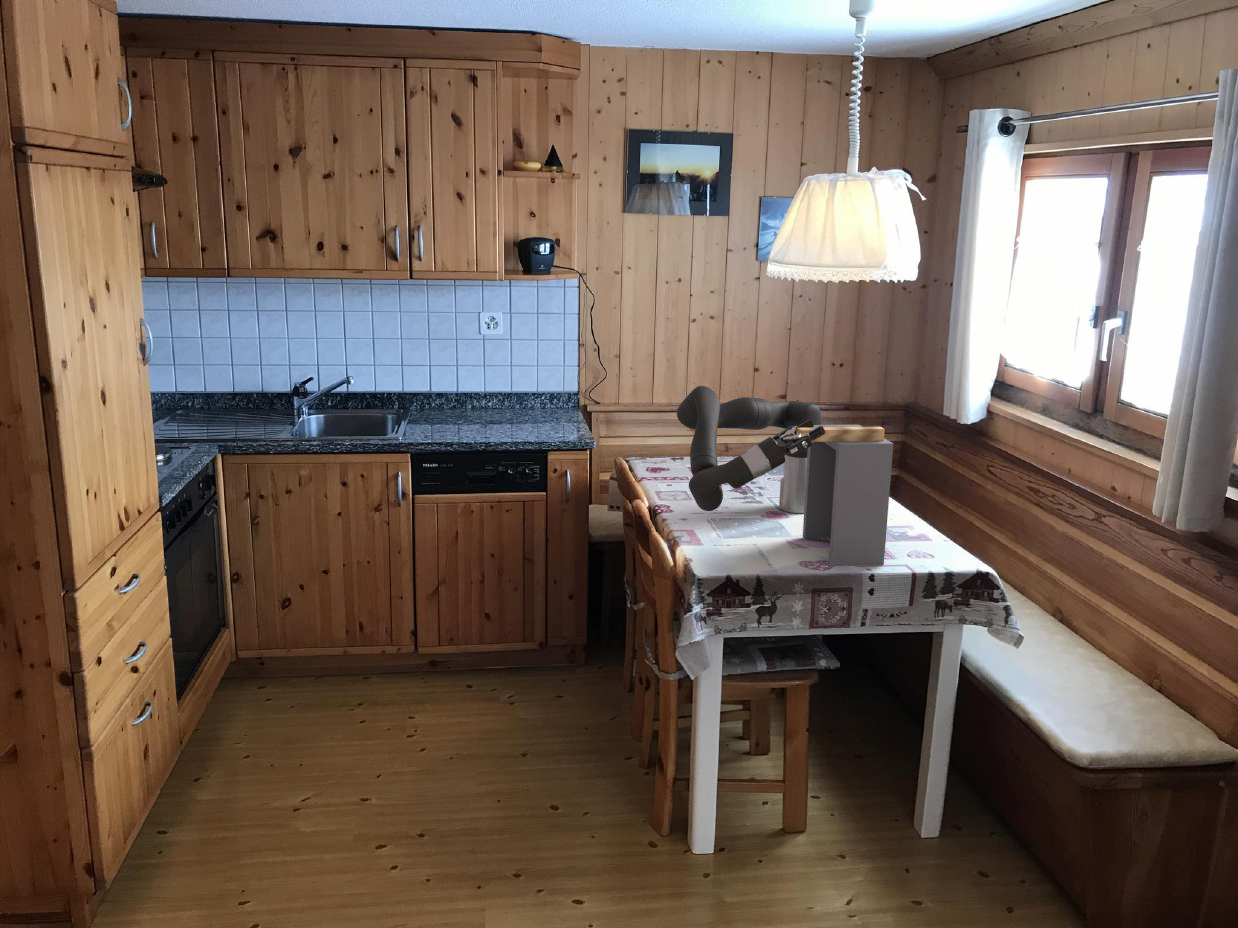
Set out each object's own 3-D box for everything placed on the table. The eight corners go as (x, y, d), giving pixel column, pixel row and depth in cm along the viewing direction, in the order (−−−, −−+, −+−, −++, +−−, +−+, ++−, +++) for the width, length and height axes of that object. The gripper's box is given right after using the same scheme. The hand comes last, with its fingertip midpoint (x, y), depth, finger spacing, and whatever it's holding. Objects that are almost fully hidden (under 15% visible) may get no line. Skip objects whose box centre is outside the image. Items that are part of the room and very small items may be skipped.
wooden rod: (799, 441, 253) (800, 430, 252) (796, 439, 255) (796, 427, 255) (883, 440, 255) (884, 429, 255) (879, 438, 258) (880, 426, 258)
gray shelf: (831, 566, 258) (839, 444, 250) (802, 537, 281) (809, 425, 274) (883, 564, 260) (893, 443, 252) (850, 536, 283) (858, 424, 275)
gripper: (760, 464, 261) (814, 433, 262) (777, 477, 248) (834, 444, 248) (748, 440, 259) (802, 408, 260) (763, 451, 246) (821, 418, 246)
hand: (817, 425), depth 254 cm, fingers open, 8 cm apart
